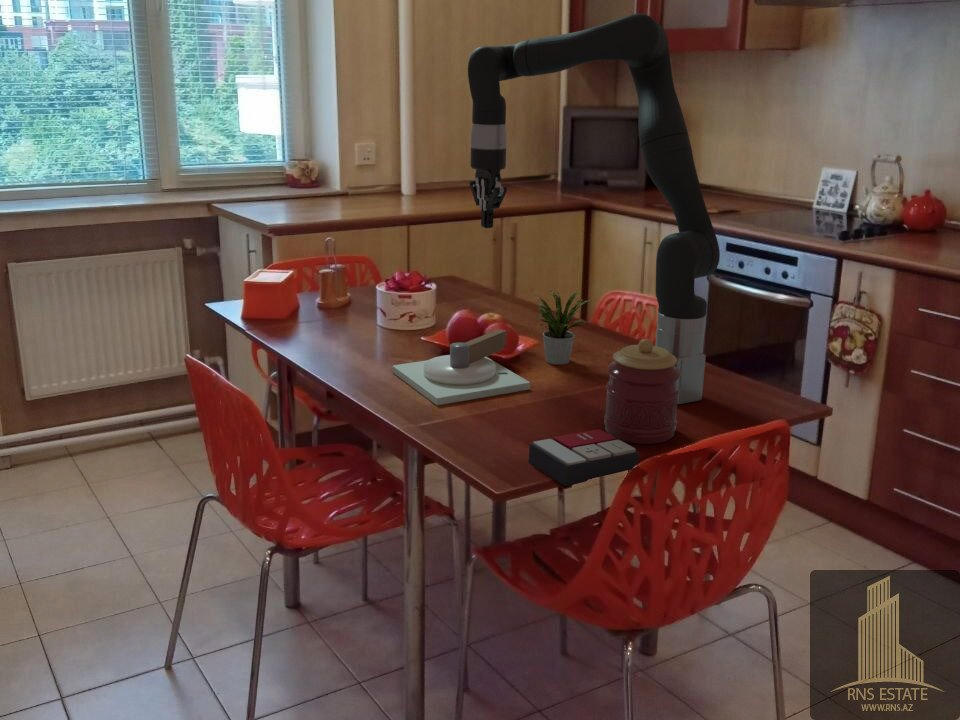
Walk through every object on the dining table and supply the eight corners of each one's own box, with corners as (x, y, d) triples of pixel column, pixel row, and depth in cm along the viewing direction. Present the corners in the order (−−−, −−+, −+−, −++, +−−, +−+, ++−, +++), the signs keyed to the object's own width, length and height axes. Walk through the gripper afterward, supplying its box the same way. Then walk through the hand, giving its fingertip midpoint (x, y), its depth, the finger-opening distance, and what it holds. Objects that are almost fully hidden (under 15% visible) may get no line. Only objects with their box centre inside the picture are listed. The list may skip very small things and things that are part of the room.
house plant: (594, 352, 216) (598, 283, 211) (595, 371, 203) (599, 298, 198) (532, 349, 218) (535, 280, 213) (529, 368, 205) (532, 295, 199)
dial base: (529, 389, 192) (530, 381, 192) (436, 405, 183) (436, 397, 182) (479, 359, 210) (479, 351, 210) (392, 372, 201) (392, 364, 200)
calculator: (641, 448, 156) (568, 462, 148) (638, 472, 157) (565, 487, 149) (599, 426, 165) (529, 438, 157) (597, 449, 166) (527, 462, 158)
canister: (659, 416, 179) (666, 327, 173) (687, 443, 167) (696, 348, 161) (594, 420, 176) (599, 330, 171) (618, 448, 164) (624, 351, 159)
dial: (467, 389, 186) (468, 361, 184) (408, 374, 194) (408, 347, 192) (530, 360, 204) (531, 334, 203) (474, 347, 213) (474, 322, 211)
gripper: (519, 148, 195) (517, 231, 200) (489, 142, 206) (487, 221, 211) (487, 149, 192) (486, 234, 197) (458, 143, 203) (457, 223, 208)
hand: (486, 227), depth 204 cm, fingers closed
